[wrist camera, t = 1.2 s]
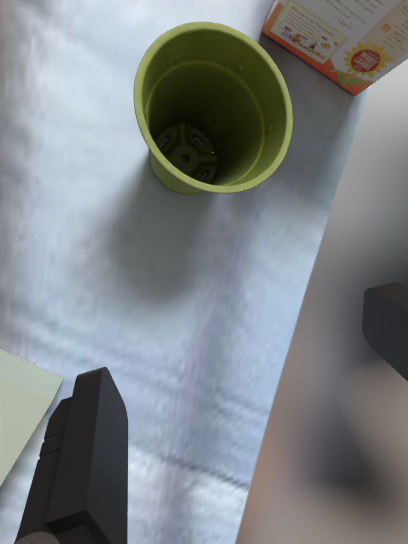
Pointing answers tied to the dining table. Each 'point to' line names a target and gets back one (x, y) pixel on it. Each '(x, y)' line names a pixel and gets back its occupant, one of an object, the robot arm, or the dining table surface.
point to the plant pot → (212, 109)
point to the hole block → (21, 404)
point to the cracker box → (343, 37)
